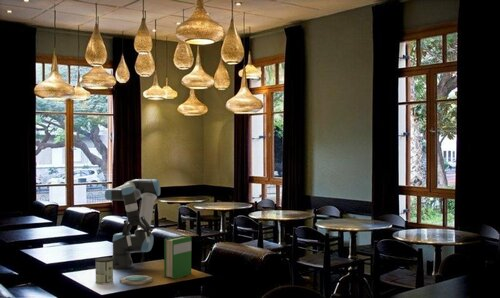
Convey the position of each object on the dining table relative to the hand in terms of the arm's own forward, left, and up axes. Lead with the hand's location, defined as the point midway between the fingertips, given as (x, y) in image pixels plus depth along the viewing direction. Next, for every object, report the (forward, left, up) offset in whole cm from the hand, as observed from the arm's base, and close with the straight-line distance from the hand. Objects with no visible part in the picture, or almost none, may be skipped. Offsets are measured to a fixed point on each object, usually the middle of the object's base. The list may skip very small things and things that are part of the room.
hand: (139, 244), depth 349 cm
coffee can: (+3, -23, -21) cm, 31 cm away
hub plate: (+11, -6, -20) cm, 24 cm away
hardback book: (+11, +22, -21) cm, 32 cm away
